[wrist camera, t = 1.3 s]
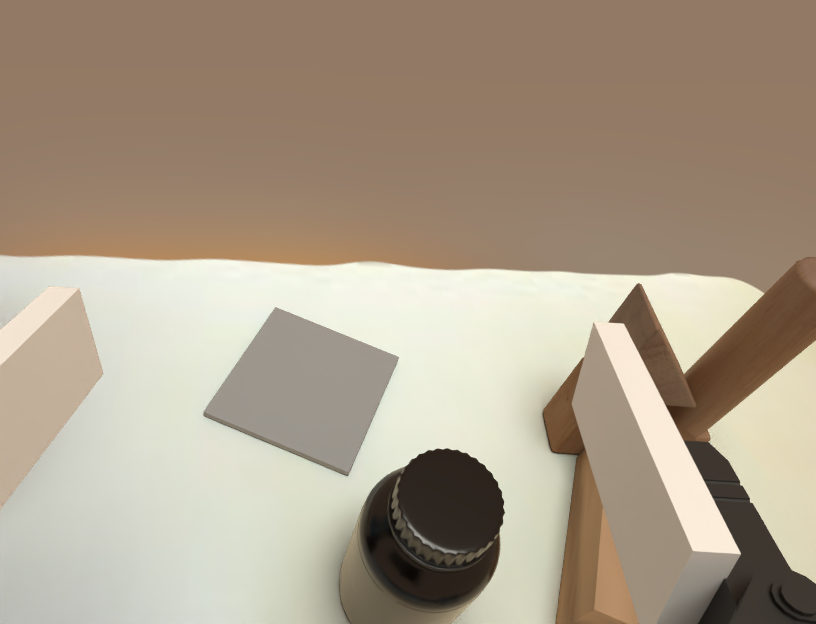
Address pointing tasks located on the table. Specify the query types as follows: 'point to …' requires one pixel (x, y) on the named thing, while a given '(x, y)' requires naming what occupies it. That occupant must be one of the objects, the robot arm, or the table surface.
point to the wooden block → (706, 358)
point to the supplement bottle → (423, 542)
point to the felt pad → (305, 390)
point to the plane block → (593, 559)
